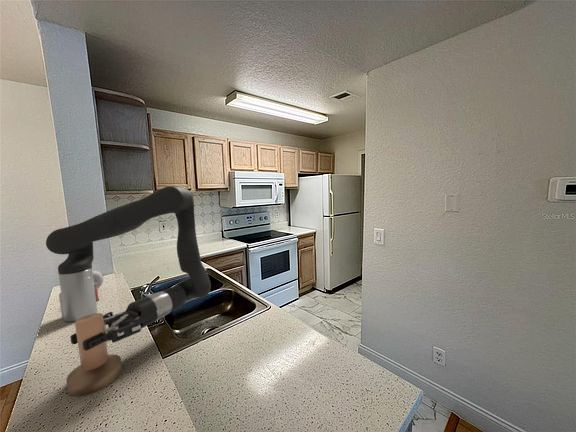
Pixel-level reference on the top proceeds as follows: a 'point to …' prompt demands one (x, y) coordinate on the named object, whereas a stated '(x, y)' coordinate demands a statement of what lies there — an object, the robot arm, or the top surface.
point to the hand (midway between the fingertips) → (77, 343)
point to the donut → (98, 278)
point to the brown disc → (94, 377)
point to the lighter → (96, 290)
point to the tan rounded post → (85, 330)
